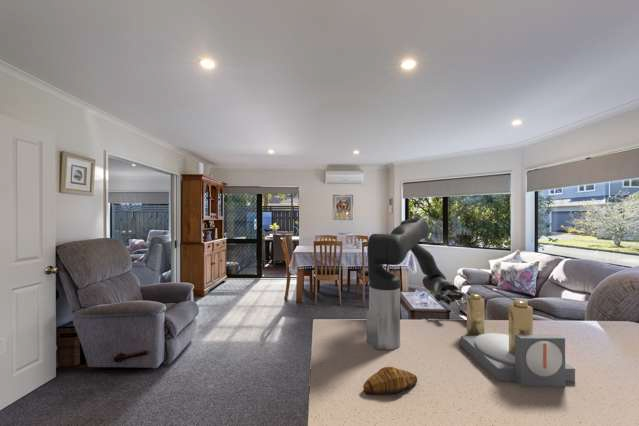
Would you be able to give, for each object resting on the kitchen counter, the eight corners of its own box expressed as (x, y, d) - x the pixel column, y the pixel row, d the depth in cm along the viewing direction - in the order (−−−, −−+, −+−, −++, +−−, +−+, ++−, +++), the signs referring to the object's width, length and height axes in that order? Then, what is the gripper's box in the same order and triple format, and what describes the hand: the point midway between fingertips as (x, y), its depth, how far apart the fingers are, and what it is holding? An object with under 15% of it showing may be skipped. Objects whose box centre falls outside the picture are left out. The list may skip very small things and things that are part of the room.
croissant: (371, 404, 60) (371, 380, 60) (357, 386, 66) (357, 364, 66) (425, 392, 64) (425, 369, 64) (407, 375, 70) (407, 355, 70)
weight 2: (525, 360, 69) (524, 305, 69) (504, 351, 74) (504, 300, 74) (537, 356, 71) (537, 303, 71) (516, 347, 76) (516, 297, 76)
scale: (505, 387, 65) (505, 339, 65) (461, 345, 86) (461, 309, 86) (585, 388, 65) (585, 339, 65) (521, 346, 85) (521, 309, 85)
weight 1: (477, 340, 89) (477, 298, 89) (463, 334, 94) (463, 293, 94) (488, 337, 91) (487, 296, 91) (473, 331, 96) (473, 292, 96)
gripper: (428, 280, 121) (441, 291, 105) (463, 281, 119) (482, 292, 103) (428, 298, 121) (441, 312, 105) (463, 299, 119) (482, 313, 103)
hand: (461, 302), depth 104 cm, fingers open, 8 cm apart
